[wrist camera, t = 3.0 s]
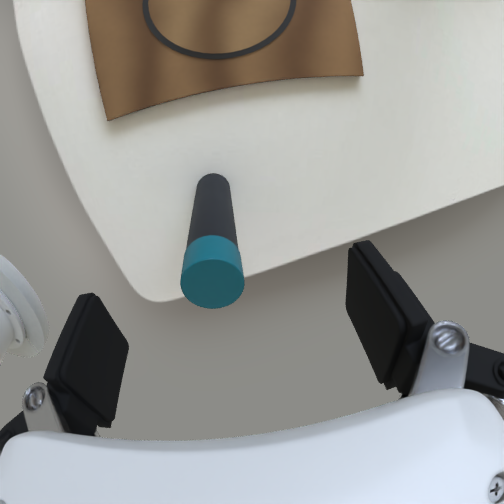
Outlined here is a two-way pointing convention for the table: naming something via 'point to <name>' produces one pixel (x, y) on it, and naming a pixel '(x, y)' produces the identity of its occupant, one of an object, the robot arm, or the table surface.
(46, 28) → the table surface
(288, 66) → the pad
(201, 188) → the marker
